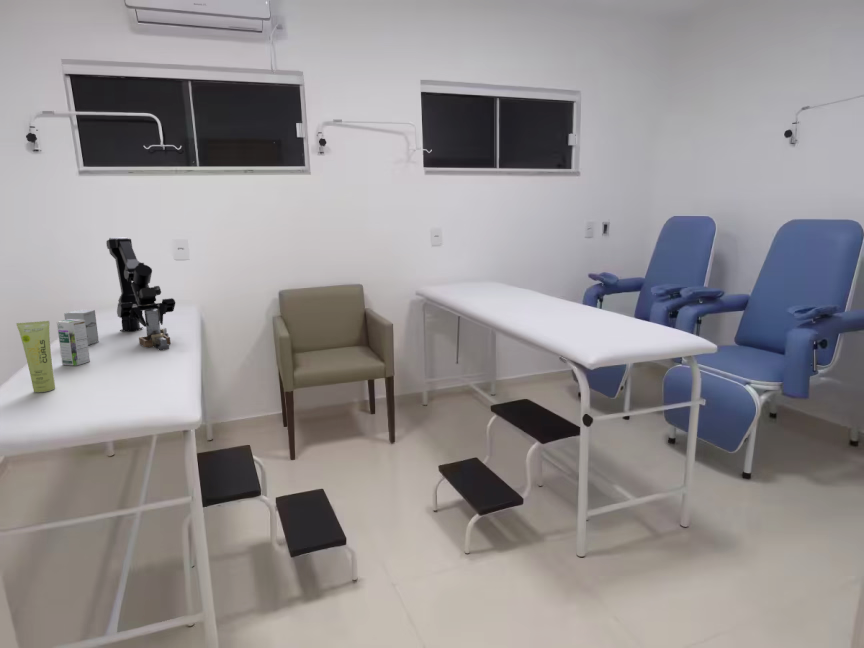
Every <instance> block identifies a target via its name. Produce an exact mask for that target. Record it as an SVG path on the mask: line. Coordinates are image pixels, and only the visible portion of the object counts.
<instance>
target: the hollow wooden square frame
mask: <svg viewBox="0 0 864 648" xmlns="http://www.w3.org/2000/svg"><path fill="white" fill-rule="evenodd" d="M163 335H164V334H163ZM164 338H165V339H167V344H168V345H171V337H170V336H169V335H168V336H166V335H164ZM138 341H139V344H140V345H141V346H142V345H143V346H142V347H144V348H145V347H148V348H154V347H153V346H152V340H148V339H147V335H146V336H141V337H140V336H139V337H138Z"/></svg>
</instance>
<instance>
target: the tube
mask: <svg viewBox="0 0 864 648" xmlns="http://www.w3.org/2000/svg"><path fill="white" fill-rule="evenodd" d="M15 324H16V327H17V329H18V330H17V331H18V332H19V335H20V339H21V344H22V346H23V350H24V355H25V358H26V361H27V366H28V370H29V375H30V381H31V384H32V385H31V386H32V390H33V392H34V393H47V392H50V391H53V390H55V388H56V383H55V377H54V369H53V361H52V352H51V340H50V339H51V337H50V320H42V321H30V322H29V321H28V322H16V323H15Z"/></svg>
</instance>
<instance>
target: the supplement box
mask: <svg viewBox="0 0 864 648" xmlns="http://www.w3.org/2000/svg"><path fill="white" fill-rule="evenodd" d="M63 315H64V320H67V319H75V320H85V326H86V334H87V342H88V346H90V345H93V344H95V343H99V342H100V341H99V332H98V324H97V318H96V310H95V309H77V310H76V309H75V310H73V311H68V312H65V313H64V314H63Z"/></svg>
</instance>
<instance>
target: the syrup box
mask: <svg viewBox="0 0 864 648" xmlns="http://www.w3.org/2000/svg"><path fill="white" fill-rule="evenodd" d="M56 328H57V329H56V330H57V334H58V342H59V349H60V358H61V364H62V366H74V367H77V366H80V365H83V364H86V363H90V361H91V360H90V359H91V358H90V352H89V345H88V342H87V334H86V326H85V320H75V319H67V320H65V319H63V320H59V321H56Z"/></svg>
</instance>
